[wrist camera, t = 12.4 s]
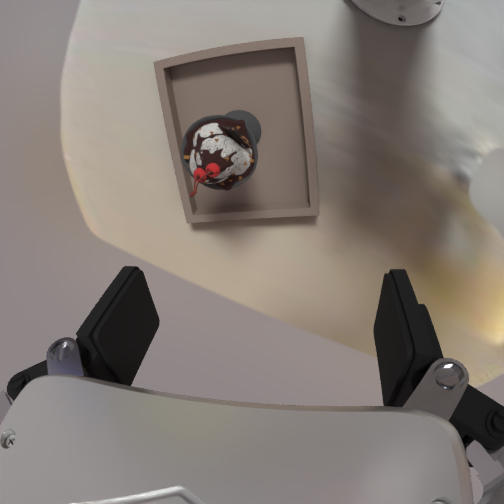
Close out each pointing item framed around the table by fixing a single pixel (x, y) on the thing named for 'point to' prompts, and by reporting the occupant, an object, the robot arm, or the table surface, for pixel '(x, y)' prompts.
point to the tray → (267, 113)
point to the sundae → (221, 150)
